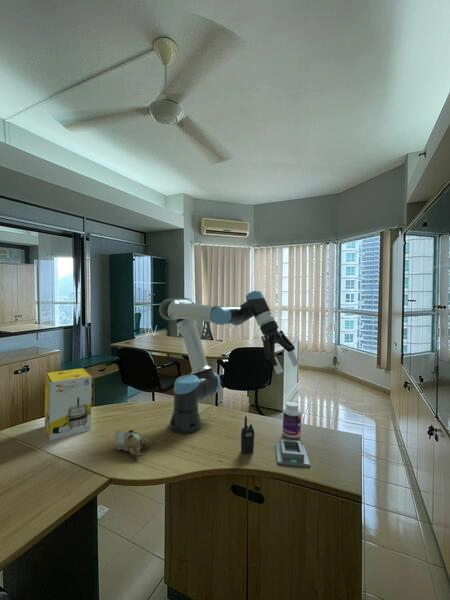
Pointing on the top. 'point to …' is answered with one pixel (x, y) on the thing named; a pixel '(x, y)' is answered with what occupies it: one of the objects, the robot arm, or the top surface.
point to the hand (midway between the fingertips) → (288, 369)
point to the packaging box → (67, 403)
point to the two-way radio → (247, 438)
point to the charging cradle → (291, 453)
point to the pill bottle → (291, 420)
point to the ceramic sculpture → (131, 442)
